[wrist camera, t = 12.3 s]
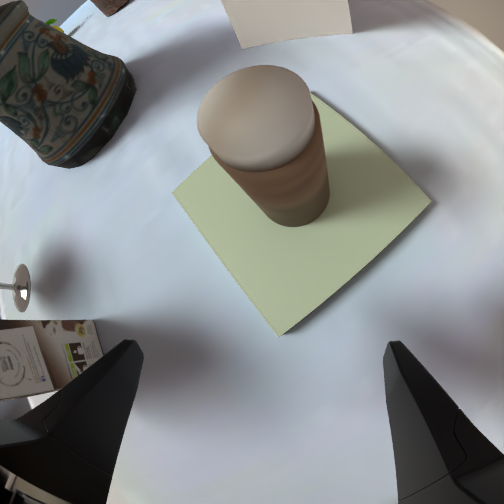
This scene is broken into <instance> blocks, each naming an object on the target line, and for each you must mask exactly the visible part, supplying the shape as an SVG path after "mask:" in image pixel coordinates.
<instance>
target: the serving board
mask: <svg viewBox="0 0 504 504" xmlns="http://www.w3.org/2000/svg"><path fill="white" fill-rule="evenodd" d="M310 94H311V93H310ZM311 99H312V101H313V102H314V103H315V105H316V107H317V109H318V112H319V115H320V121H321V128H322V134H323V141H324V148H325V155H326V163H327V171H328V179H329V188H330V197H329V201H328V204H327V207H326V209H325V210H324V212H323V213H322V214H321V215H320V216H319V217H318V218H317V219H316V220H314V221H313V222H311V223H309V224H307V225H304V226H300V227H286V226H282V225H279V224H277V223H275V222H274V221H272V220H271V219H270V218H268V217H267V215H266V214H265V213H264V212H263V211H262V210H261V209H260V208H259V207H258V206H257V204H256V203H255V202H254V201H253V200H252V199H251V198H250V197H249V196H248V195H247V194H246V193H245V191H244V190H243V189H242V188H241V187H240V186H239V185H238V184H237V183H236V182H235V181H234V180H233V179H232V178H231V176H230V175H229V174H228V173H227V172H226V171H225V170H224V169H223V168H222V167H221V166H220V165H219V164H218V163H217V161H216V160H215V159H214V157H213V156H212V155H211V156H210V157H209V158H208V159H207V160H206V161H205V162H204V163H203V164H201V165H200V166H199V167H198V168H197V169H196V170H195V171H194V172H193V173H192V174H191V175H190V176H188V177H187V178H186V179H185V180H184V181H183V182H182V183H181V184H180V185H179V186H178V187H177V188H176V189H175V190H174V191H173V192H172V194H173V195H174V196H175V198H176V199H177V201H178V202H179V203H180V205H181V206H182V208H183V209H184V211H185V212H186V213H187V215H188V216H189V218H190V219H191V220H192V222H193V223H194V225H195V226H196V227H197V229H198V230H199V232H200V233H201V234H202V236H203V237H204V238H205V240H206V241H207V243H208V244H209V245H210V247H211V248H212V249H213V251H214V252H215V254H216V255H217V256H218V258H219V259H220V260H221V262H222V263H223V264H224V266H225V267H226V269H227V270H228V271H229V273H230V274H231V275H232V277H233V278H234V279H235V281H236V282H237V283H238V285H239V286H240V287H241V289H242V290H243V291H244V293H245V294H246V295H247V297H248V298H249V299H250V301H251V302H252V303H253V305H254V306H255V307H256V308H257V310H258V311H259V312H260V314H261V315H262V316H263V318H264V319H265V320H266V322H267V323H268V324H269V325H270V327H271V328H272V329H273V331H274V332H275V333H276V335H277V336H278V337H280V336H281V335H283V334H284V333H285V332H286V331H288V330H289V329H290V328H292V327H293V326H294V325H296V324H297V323H298V322H299V321H301V320H302V319H303V318H304V317H306V316H307V315H308V314H309V313H311V312H312V311H313V310H314V309H316V308H317V307H318V306H319V305H320V304H322V303H323V302H324V301H325V300H326V299H328V298H329V297H330V296H331V295H332V294H334V293H335V292H336V291H337V290H338V289H340V288H341V287H342V286H343V285H344V284H345V283H347V282H348V281H349V280H350V279H351V278H352V277H353V276H355V275H356V274H357V273H358V272H359V271H360V270H361V269H362V268H364V267H365V266H366V265H367V264H368V263H369V262H370V261H371V260H372V259H373V258H375V257H376V256H377V255H378V254H379V253H380V252H381V251H382V250H383V249H384V248H385V247H386V246H387V245H388V244H389V243H391V242H392V241H393V240H394V239H395V238H396V237H397V236H398V235H399V234H400V233H401V232H402V231H403V230H404V229H405V228H406V227H407V226H408V225H409V224H410V223H411V222H412V221H413V220H414V219H415V218H416V217H417V216H418V215H419V214H420V213H421V212H422V211H423V210H424V209H425V208H426V207H427V206H428V204H429V203H430V202H431V200H430V199H429V198H428V197H427V195H426V194H425V193H424V192H423V191H422V190H421V189H420V188H419V187H418V186H417V185H416V184H415V183H414V182H413V180H412V179H411V178H410V177H409V176H408V175H407V174H406V173H405V172H404V171H403V170H402V169H401V168H400V167H399V166H398V165H397V164H396V163H395V162H394V161H393V160H391V159H390V158H389V157H388V156H387V155H386V154H385V153H384V152H383V151H382V150H381V149H380V148H379V147H378V146H376V145H375V144H374V143H373V142H372V141H371V140H370V139H369V138H367V137H366V136H365V135H364V134H363V133H362V132H360V131H359V130H358V129H357V128H356V127H354V126H353V125H352V124H351V123H350V122H348V121H347V120H346V119H345V118H343V117H342V116H341V115H340V114H338V113H337V112H336V111H334V110H333V109H332V108H331V107H329V106H328V105H327V104H325V103H324V102H323V101H321V100H320V99H318V98H317V97H316V96H314V95H313V94H311Z"/></svg>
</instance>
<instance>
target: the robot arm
mask: <svg viewBox="0 0 504 504" xmlns="http://www.w3.org/2000/svg"><path fill="white" fill-rule="evenodd" d="M143 360H144V355H143V352H142V350H141V349H140V347H139V345H138V343H137V342H136V341H135V340H133V339H125V340H123V341H122V342H120V343H119V344H118V345H117V346H115V347H114V348H113V349H111V350H110V351H109V352H108V353H106V354H105V355H104V356H102V357H101V358H100V359H99V360H97V361H96V362H95V363H93V364H92V365H91V366H90V367H88V368H87V369H86V370H84V371H83V372H82V373H81V374H79V375H78V376H77V377H76V378H74V379H73V380H72V381H70V382H69V383H68V384H67V385H65V386H64V387H63V388H62V389H60V390H59V391H58V392H56V393H55V394H54V395H52V396H51V397H50V398H48V399H47V400H46V401H44V402H43V403H41V404H40V405H38V406H37V407H35V408H34V409H32V410H31V411H29V412H27V413H26V414H25V415H23V416H21V417H19V418H17V419H14V420H0V504H106V502H107V497H108V493H109V489H110V484H111V480H112V476H113V472H114V468H115V464H116V460H117V456H118V453H119V449H120V445H121V442H122V438H123V435H124V431H125V428H126V425H127V421H128V418H129V415H130V411H131V408H132V405H133V402H134V399H135V395H136V392H137V388H138V383H139V378H140V373H141V369H142V364H143ZM383 367H384V378H385V392H386V404H387V410H388V416H389V422H390V428H391V435H392V442H393V450H394V458H395V467H396V477H397V489H398V501H399V502H398V504H504V454H503V453H501V452H500V451H499V450H498V449H497V448H496V447H495V446H494V445H493V444H492V443H491V442H490V441H489V440H488V439H487V438H486V437H485V436H484V435H483V434H482V433H481V432H480V431H479V430H478V429H477V428H476V427H475V426H474V425H473V423H472V422H471V421H470V420H469V419H468V418H467V417H466V415H465V414H464V413H463V412H462V410H461V409H459V407H458V406H457V405H456V403H455V402H454V401H453V400H452V399H451V397H450V396H449V395H448V394H447V393H446V392H445V390H444V389H443V388H442V387H441V386H440V385H439V383H438V382H437V381H436V380H435V379H434V378H433V376H432V375H431V374H430V373H429V372H428V371H427V370H426V369H425V367H424V366H423V365H422V364H421V363H420V362H419V361H418V360H417V358H416V357H415V356H414V355H413V354H412V353H411V352H410V351H409V350H408V348H407V347H406V346H405V345H404V344H403V343H402V342H401V341H390V342H389V343H388V344H387V347H386V351H385V354H384V357H383Z"/></svg>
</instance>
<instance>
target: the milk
mask: <svg viewBox="0 0 504 504" xmlns="http://www.w3.org/2000/svg"><path fill="white" fill-rule="evenodd" d="M221 2H222V4H223V6H224V8H225V11H226V13H227V15H228V17H229V20H230V22H231V24H232V26H233V29H234V31H235V33H236V36H237V38H238V40H239V43H240V45H241V48H242V49H246V48H250V47H254V46H259V45H264V44H269V43H275V42H280V41H286V40H293V39H300V38H308V37H316V36H327V35H340V34H353V31H352V24H351V17H350V11H349V5H348V0H221Z"/></svg>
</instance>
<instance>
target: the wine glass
mask: <svg viewBox="0 0 504 504" xmlns="http://www.w3.org/2000/svg"><path fill="white" fill-rule="evenodd" d="M0 289H9V290H12V294H13V300H14V304H15V306H16V308H17V310H18V311H19V312H24V311H25V310H26V308H27V306H28V303H29V297H30V277H29V272H28V269H27V267H26V266H25V265H24V264H20V265H19V266H18V267H17V268H16V270H15V273H14V277H13V283H12V284H4V283H0Z"/></svg>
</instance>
